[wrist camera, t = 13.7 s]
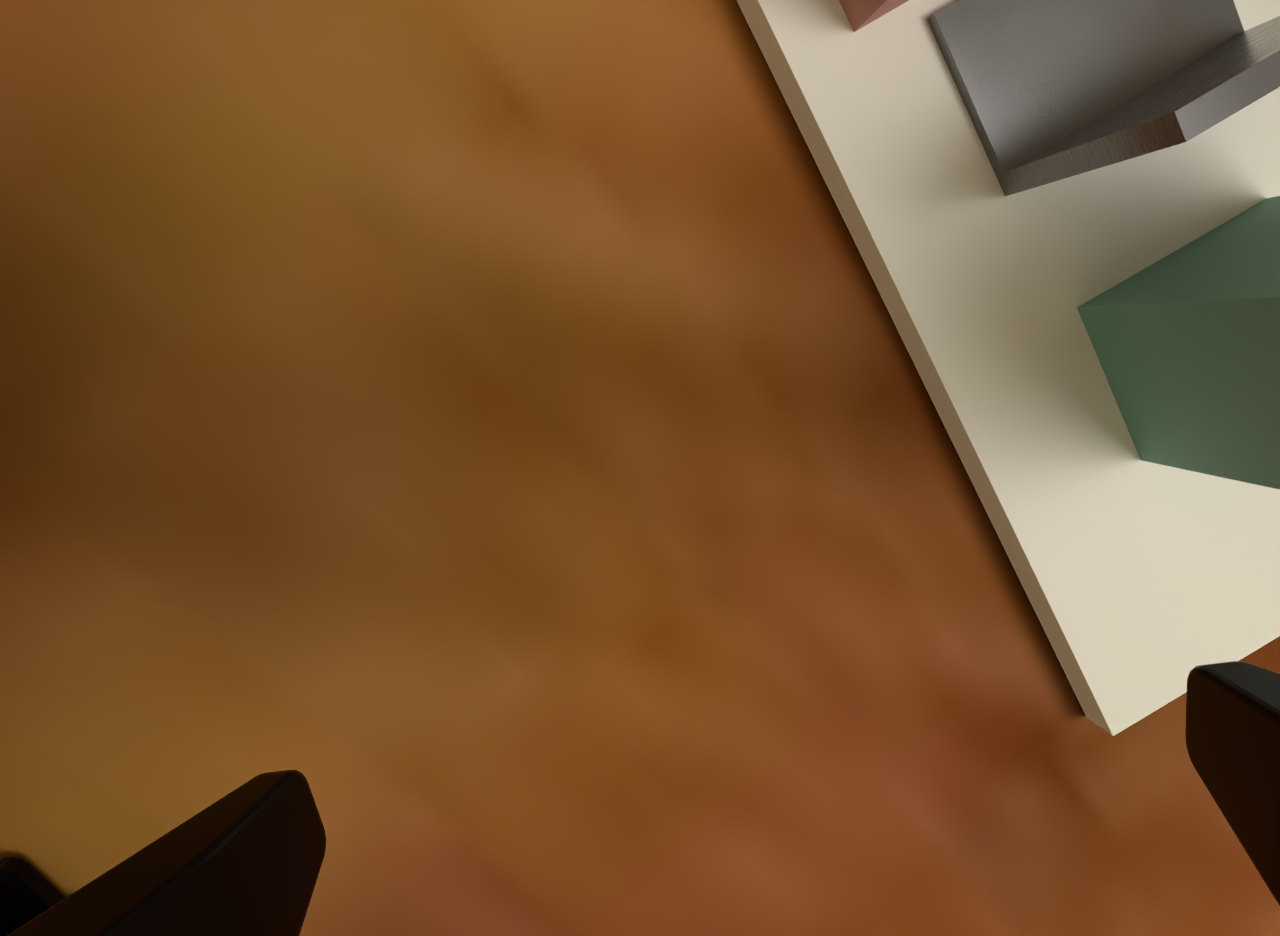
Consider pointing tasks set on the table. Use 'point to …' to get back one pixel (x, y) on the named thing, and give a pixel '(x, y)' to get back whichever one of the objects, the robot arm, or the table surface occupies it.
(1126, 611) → the cream piece
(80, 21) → the table surface
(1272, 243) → the green box
